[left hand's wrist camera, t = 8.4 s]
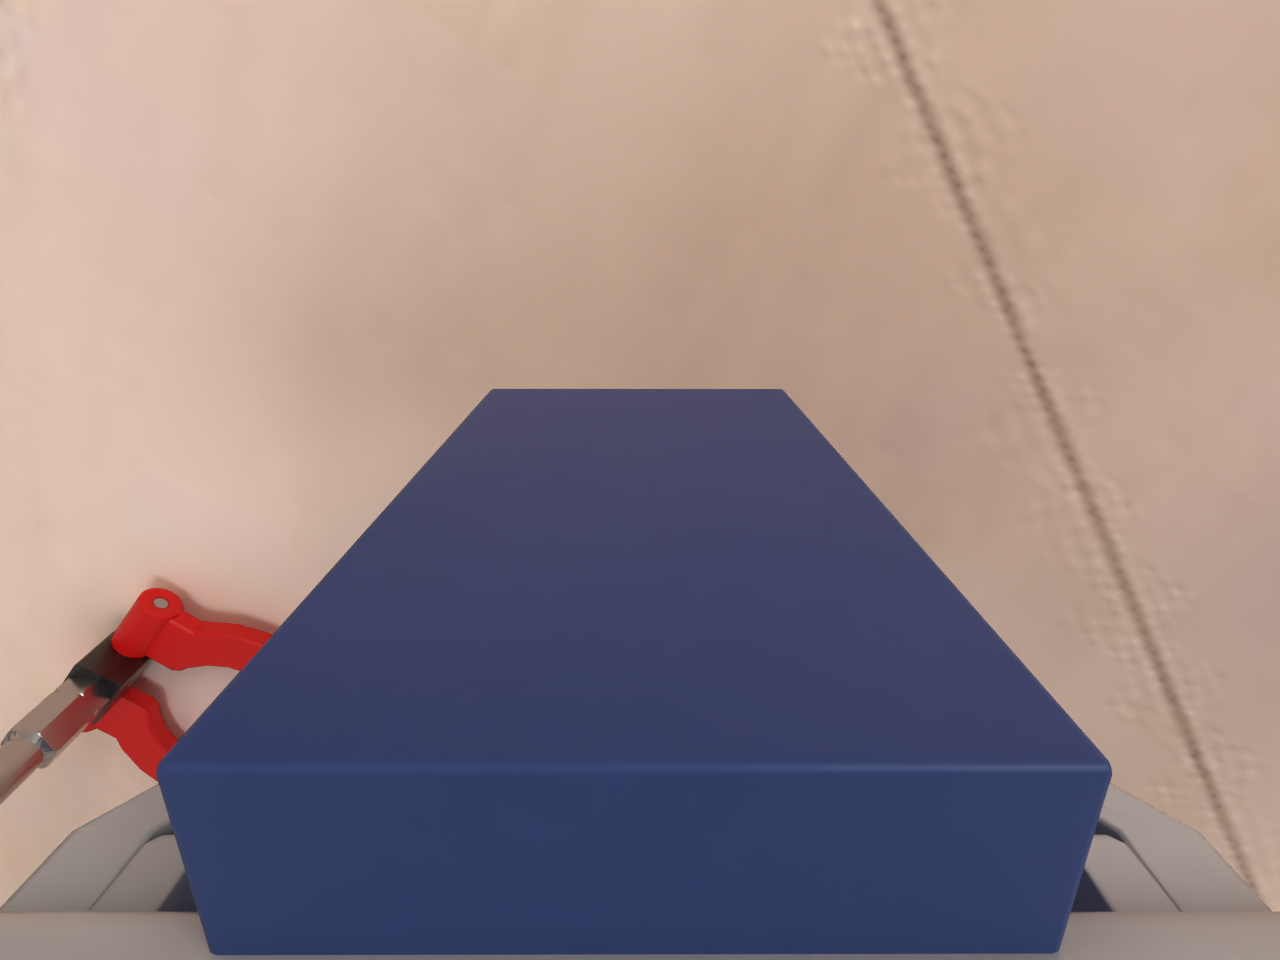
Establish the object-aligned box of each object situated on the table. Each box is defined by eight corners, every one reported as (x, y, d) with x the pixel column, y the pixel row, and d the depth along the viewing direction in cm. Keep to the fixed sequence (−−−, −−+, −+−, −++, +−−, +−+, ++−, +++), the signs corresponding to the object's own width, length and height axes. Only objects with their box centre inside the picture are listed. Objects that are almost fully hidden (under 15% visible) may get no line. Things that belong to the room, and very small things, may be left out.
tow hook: (388, 691, 27) (166, 561, 25) (212, 1077, 15) (-250, 900, 13) (280, 815, 30) (66, 707, 27) (53, 1235, 18) (-366, 1111, 15)
